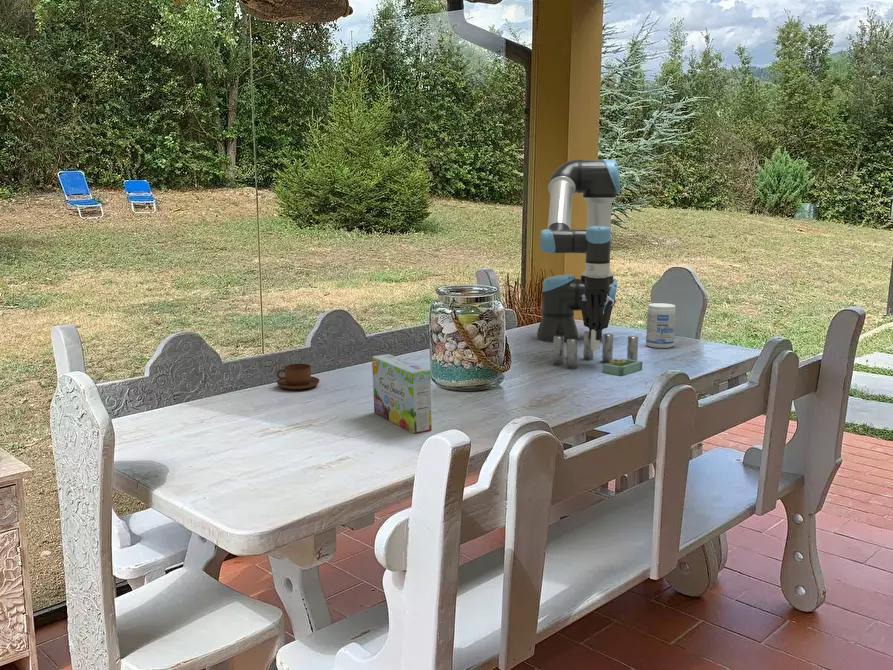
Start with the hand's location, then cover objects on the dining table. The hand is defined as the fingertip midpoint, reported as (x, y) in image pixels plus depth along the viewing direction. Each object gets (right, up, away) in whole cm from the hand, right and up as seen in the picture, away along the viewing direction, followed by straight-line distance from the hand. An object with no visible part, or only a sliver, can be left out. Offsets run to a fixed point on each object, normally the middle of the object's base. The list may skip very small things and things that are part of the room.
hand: (595, 349), depth 270 cm
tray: (+7, -6, -8) cm, 13 cm away
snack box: (-58, -17, -61) cm, 86 cm away
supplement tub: (+28, 0, +29) cm, 41 cm away
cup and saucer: (-90, -11, -26) cm, 94 cm away
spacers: (0, -5, 0) cm, 5 cm away
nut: (+6, -6, -7) cm, 11 cm away
